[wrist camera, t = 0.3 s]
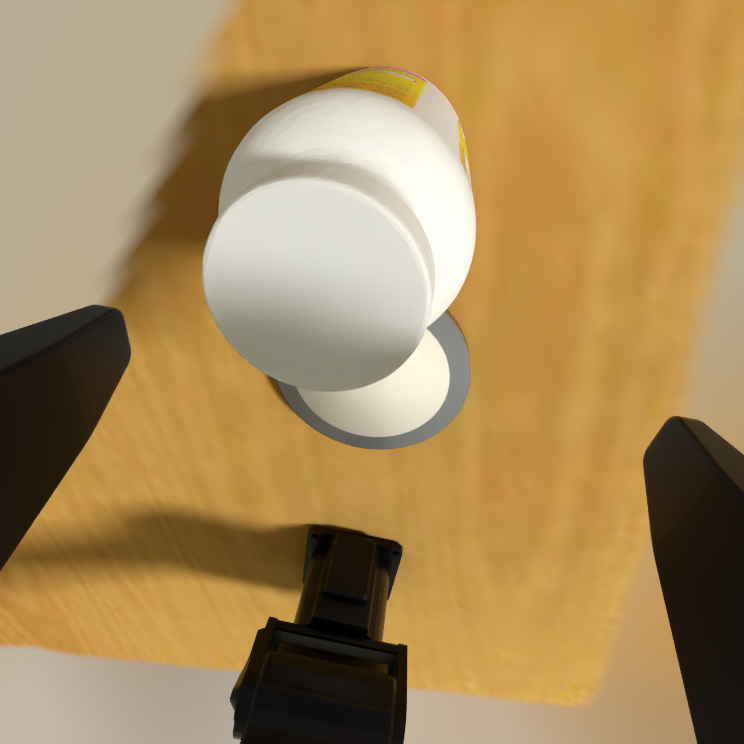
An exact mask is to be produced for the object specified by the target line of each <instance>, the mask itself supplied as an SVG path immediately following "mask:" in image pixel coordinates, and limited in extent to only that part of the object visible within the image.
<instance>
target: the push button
mask: <svg viewBox="0 0 744 744" xmlns="http://www.w3.org/2000/svg"><path fill="white" fill-rule="evenodd" d="M276 380H277V379H276ZM277 383H278V386H279V388H280V390H281V392H282V394H283V396H284V398H285V400H286V401H287V403H288V404H289V406H290V407H291V408H292V409H293V410H294V412H295V413H296V414H297V415H298V416H299V417H300V418H301V419H302V420H303V421H304V422H305V423H307V424H308V425H309V426H311V427H312V428H313V429H315V430H316V431H318V432H320V433H321V434H323V435H325V436H327V437H329V438H331V439H333V440H336V441H338V442H341V443H344V444H347V445H351V446H355V447H360V448H367V449H395V448H402V447H406V446H410V445H414V444H416V443H419V442H422V441H424V440H426V439H428V438H430V437H432V436H434V435H435V434H437V433H438V432H440V431H441V430H443V429H444V428H445V427H446V426H447V425H448V424H449V423H450V422H451V421H452V420H453V419H454V418H455V417H456V415H457V414H458V413H459V411H460V409H461V408H462V406H463V404H464V402H465V399H466V397H467V394H468V390H469V385H470V359H469V350H468V346H467V342H466V339H465V337H464V334H463V332H462V330H461V328H460V326H459V325H458V323H457V321H456V320H455V318H454V317H453V316H452V315H451V313H450V312H449V311H448V310H447V309H446V310H445V312H444V313H443V314H442V315H441V316H440V317H439V318H438V319H437V320H435V321H434V322H433V323H432V324H431V325H429V326H428V327H427V328H426V330H425V333H424V336H423V337H422V339H421V341H420V343H419V345H418V346H417V348H416V350H415V351H414V353H413V354H412V355H411V356H410V357H409V358H408V359H407V361H406V362H405V363H404V364H403V365H402V366H401V367H399V368H398V369H397V370H396V371H394V372H393V373H392V374H390V375H389V376H388V377H386V378H384V379H382V380H380V381H377V382H375V383H373V384H371V385H368V386H365V387H362V388H358V389H354V390H348V391H338V392H320V391H313V390H307V389H303V388H299V387H295V386H292V385H289V384H286V383H284V382H281V381H279V380H277Z"/></svg>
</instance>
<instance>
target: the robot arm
mask: <svg viewBox="0 0 744 744" xmlns="http://www.w3.org/2000/svg"><path fill="white" fill-rule="evenodd" d="M130 357H131V347H130V342H129V338H128V333H127V329H126V324H125V320H124V316H123V314H122V313H121V311H120V310H118V309H116V308H111V307H106V306H101V305H90V306H87V307H84V308H81V309H78V310H75V311H72V312H69V313H66V314H63V315H60V316H57V317H54V318H51V319H48V320H45V321H42V322H38V323H36V324H32V325H29V326H26V327H23V328H20V329H17V330H14V331H11V332H8V333H5V334H2V335H0V571H1V570H2V568H3V567H4V565H5V564H6V562H7V561H8V559H9V558H10V556H11V555H12V553H13V552H14V550H15V549H16V547H17V546H18V544H19V543H20V541H21V540H22V538H23V537H24V535H25V534H26V532H27V531H28V529H29V528H30V526H31V525H32V523H33V522H34V520H35V519H36V517H37V516H38V514H39V513H40V512H41V510H42V509H43V507H44V506H45V504H46V503H47V501H48V500H49V498H50V497H51V495H52V494H53V492H54V491H55V489H56V488H57V486H58V485H59V483H60V482H61V480H62V479H63V477H64V476H65V474H66V473H67V471H68V470H69V468H70V467H71V465H72V464H73V462H74V461H75V459H76V458H77V456H78V455H79V453H80V452H81V450H82V449H83V447H84V446H85V444H86V443H87V441H88V440H89V438H90V436H91V435H92V433H93V431H94V429H95V427H96V426H97V424H98V422H99V420H100V418H101V416H102V414H103V412H104V410H105V408H106V406H107V404H108V403H109V401H110V399H111V397H112V395H113V393H114V391H115V389H116V387H117V385H118V383H119V381H120V379H121V377H122V375H123V373H124V372H125V370H126V368H127V366H128V364H129V361H130ZM643 468H644V477H645V486H646V495H647V504H648V513H649V523H650V532H651V539H652V546H653V552H654V556H655V562H656V566H657V571H658V575H659V579H660V584H661V588H662V592H663V597H664V601H665V605H666V609H667V614H668V618H669V623H670V627H671V631H672V636H673V640H674V644H675V649H676V653H677V658H678V662H679V666H680V670H681V674H682V679H683V684H684V688H685V692H686V697H687V701H688V705H689V710H690V714H691V719H692V723H693V727H694V731H695V735H696V740H697V744H744V455H743V454H742V453H741V452H740V451H738V450H737V449H736V448H735V447H733V446H732V445H731V444H730V443H728V442H727V441H726V440H725V439H723V438H722V437H721V436H720V435H718V434H717V433H716V432H715V431H713V430H712V429H711V428H710V427H709V426H707V425H706V424H705V423H703V422H702V421H699V420H696V419H691V418H686V417H680V416H674V417H671V418H669V419H668V420H667V421H666V422H665V423H664V425H663V426H662V428H661V429H660V431H659V432H658V433H657V435H656V436H655V438H654V439H653V440H652V442H651V443H650V445H649V446H648V447H647V449H646V451H645V454H644V458H643ZM402 551H403V547H402V546H401V545H400V544H397V543H393V542H388V541H383V540H378V539H373V538H369V537H364V536H359V535H354V534H349V533H345V532H340V531H335V530H330V529H325V528H321V527H311V528H310V530H309V533H308V539H307V548H306V556H305V565H304V573H303V583H304V587H303V590H302V594H301V598H300V602H299V605H298V609H297V613H296V616H295V620H294V623H290V622H285V621H280V620H278V618H274V617H269V619H268V622H267V624H266V627H265V628H262V629H260V630H258V632H257V635H256V638H255V641H254V644H253V647H252V650H251V653H250V656H249V658H248V660H247V662H246V664H245V666H244V668H243V670H242V672H241V674H240V676H239V678H238V680H237V682H236V684H235V686H234V688H233V691H232V693H231V697H230V702H231V705H232V707H233V709H234V711H235V713H234V729H233V738H235V739H240V740H241V742H240V744H403V742H404V734H405V724H406V710H407V645H403V644H398V645H395V644H391V643H386V642H382V638H383V630H384V621H385V612H386V604H387V600H388V599H389V596H390V593H391V590H392V586H393V583H394V580H395V576H396V573H397V570H398V567H399V563H400V560H401V557H402Z"/></svg>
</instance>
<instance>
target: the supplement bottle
mask: <svg viewBox="0 0 744 744" xmlns="http://www.w3.org/2000/svg"><path fill="white" fill-rule="evenodd" d="M475 237H476V218H475V207H474V199H473V194H472V188H471V180H470V171H469V163H468V155H467V147H466V142H465V137H464V133H463V130H462V127H461V124H460V121H459V119H458V116H457V115H456V113H455V111H454V109H453V107H452V105H451V104H450V102H449V101H448V100H447V98H446V97H445V96H444V95H443V94H442V93H441V91H440V90H438V89H437V88H436V87H435V86H434V85H433V84H432V83H430V82H429V81H428V80H426V79H424V78H423V77H421V76H419V75H417V74H415V73H413V72H411V71H408V70H404V69H401V68H396V67H388V66H375V67H368V68H364V69H360V70H357V71H354V72H351V73H348V74H346V75H343V76H341V77H339V78H337V79H335V80H333V81H331V82H328V83H326V84H324V85H322V86H320V87H318V88H316V89H314V90H311V91H309V92H307V93H305V94H302V95H300V96H297V97H295V98H293V99H291V100H289V101H287V102H285V103H284V104H282V105H280V106H278V107H276V108H275V109H273V110H272V111H271V112H269V113H268V114H266V115H265V116H264V117H263V118H261V119H260V120H259V121H258V122H257V123H256V124H255V125H254V126H253V127H252V128H251V129H250V131H249V132H248V133H247V134H246V135H245V137H244V138H243V140H242V141H241V143H240V144H239V146H238V147H237V149H236V150H235V152H234V154H233V156H232V158H231V160H230V162H229V164H228V167H227V169H226V172H225V174H224V178H223V182H222V186H221V191H220V197H219V210H218V218H217V220H216V221H215V223H214V225H213V227H212V230H211V232H210V234H209V236H208V238H207V242H206V245H205V249H204V254H203V263H202V283H203V289H204V294H205V298H206V302H207V305H208V308H209V310H210V313H211V315H212V317H213V319H214V321H215V323H216V325H217V326H218V328H219V330H220V331H221V333H222V334H223V336H224V337H225V339H226V340H227V341H228V342H229V344H230V345H231V346H232V347H233V348H234V349H235V350H236V351H237V352H238V353H239V354H240V355H241V356H242V357H243V358H244V359H245V360H246V361H248V362H249V363H250V364H251V365H252V366H254V367H255V368H257V369H258V370H260V371H261V372H263V373H265V374H266V375H268V376H270V377H272V378H274V379H277V380H279V381H281V382H284V383H286V384H289V385H292V386H295V387H299V388H303V389H307V390H313V391H320V392H338V391H348V390H354V389H358V388H362V387H365V386H368V385H371V384H373V383H375V382H377V381H380V380H382V379H384V378H386V377H388V376H389V375H390V374H392V373H393V372H394V371H396V370H397V369H398V368H399V367H401V366H402V365H403V364H404V363H405V362H406V361H407V359H408V358H409V357H410V356H411V355H412V354H413V353H414V351H415V350H416V348H417V346H418V345H419V343H420V341H421V339H422V337H423V336H424V333H425V330H426V328H427V327H428V326H429V325H431V324H432V323H433V322H434V321H435V320H437V319H438V318H439V317H440V316H441V315H442V314H443V313H444V312H445V310H446V309H447V308H448V307H449V305H450V304H451V303H452V302H453V300H454V299H455V297H456V296H457V294H458V293H459V291H460V289H461V287H462V285H463V283H464V281H465V278H466V276H467V274H468V271H469V268H470V264H471V261H472V257H473V252H474V246H475Z"/></svg>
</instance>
